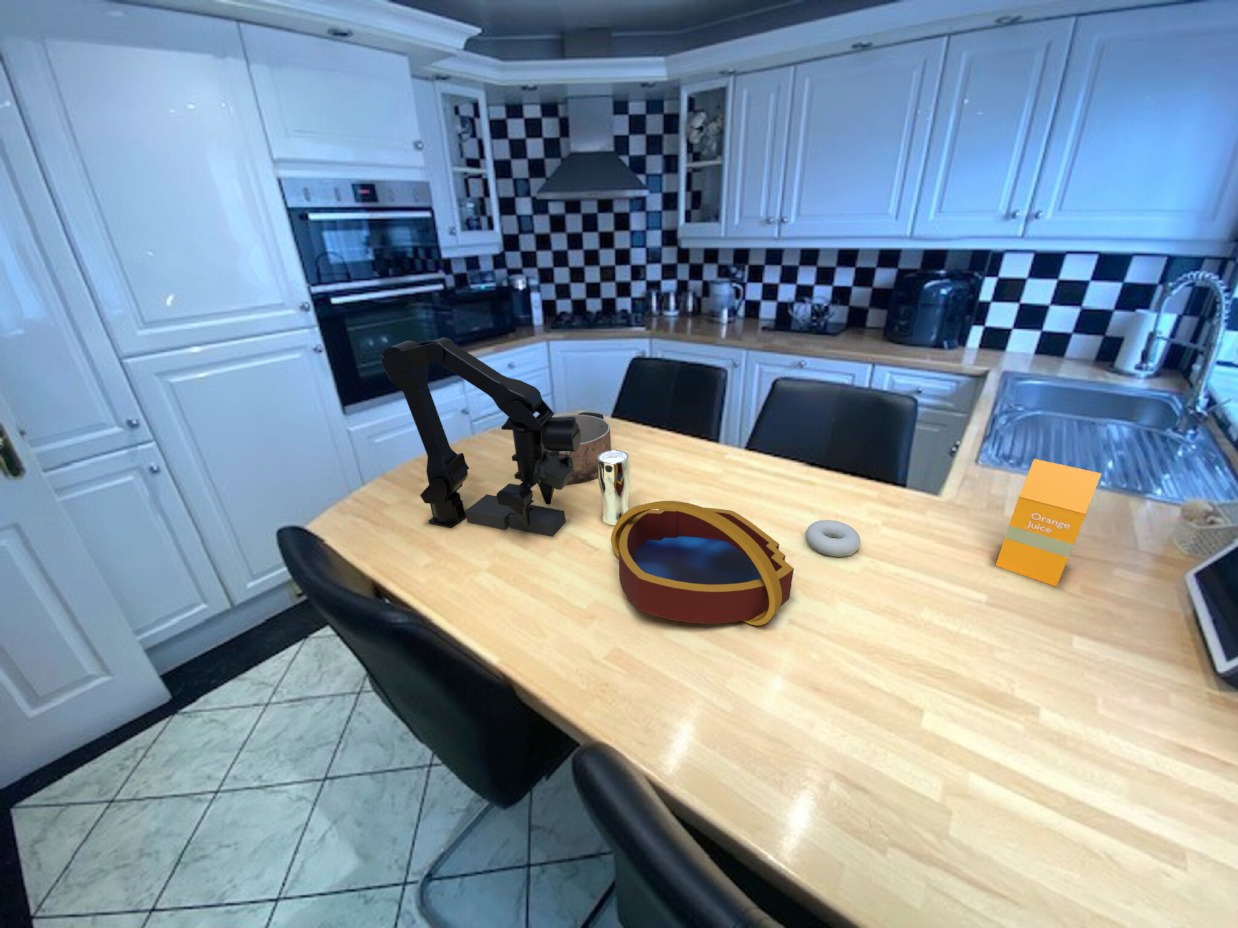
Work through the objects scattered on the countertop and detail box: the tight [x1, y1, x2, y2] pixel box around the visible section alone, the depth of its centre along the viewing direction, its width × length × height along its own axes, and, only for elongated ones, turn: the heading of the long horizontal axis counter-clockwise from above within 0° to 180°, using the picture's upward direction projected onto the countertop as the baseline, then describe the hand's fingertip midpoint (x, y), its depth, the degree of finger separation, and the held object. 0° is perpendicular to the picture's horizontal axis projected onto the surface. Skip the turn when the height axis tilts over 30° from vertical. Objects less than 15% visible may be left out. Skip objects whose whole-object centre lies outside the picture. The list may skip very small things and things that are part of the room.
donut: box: [805, 519, 861, 557], centre depth 98 cm, size 10×3×10 cm
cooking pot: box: [543, 411, 612, 485], centre depth 134 cm, size 30×22×11 cm
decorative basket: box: [610, 500, 795, 626], centre depth 88 cm, size 34×29×15 cm
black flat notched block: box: [508, 504, 567, 537], centre depth 110 cm, size 10×6×3 cm, turn 68°
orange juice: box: [995, 458, 1102, 587], centre depth 87 cm, size 8×9×20 cm
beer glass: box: [597, 449, 632, 526], centre depth 108 cm, size 7×7×15 cm
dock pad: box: [464, 494, 515, 531], centre depth 113 cm, size 13×8×3 cm, turn 68°
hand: (537, 514), depth 109 cm, fingers open, 9 cm apart
